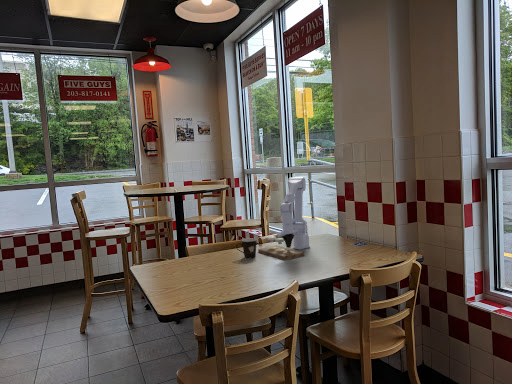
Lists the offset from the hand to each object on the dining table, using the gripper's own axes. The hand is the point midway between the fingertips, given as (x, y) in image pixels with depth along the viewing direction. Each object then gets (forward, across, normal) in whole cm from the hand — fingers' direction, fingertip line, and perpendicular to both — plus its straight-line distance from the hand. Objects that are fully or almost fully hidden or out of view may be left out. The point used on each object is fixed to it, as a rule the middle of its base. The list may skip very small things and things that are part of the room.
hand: (288, 247), depth 217 cm
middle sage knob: (-1, 0, -8) cm, 8 cm away
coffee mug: (+6, +17, -17) cm, 25 cm away
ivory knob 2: (+3, 0, 0) cm, 3 cm away
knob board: (+5, -1, -8) cm, 10 cm away
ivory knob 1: (-1, -1, -16) cm, 16 cm away
